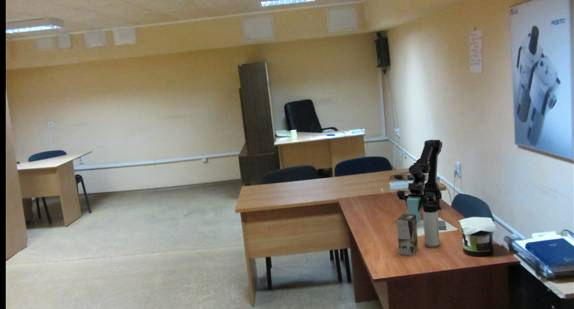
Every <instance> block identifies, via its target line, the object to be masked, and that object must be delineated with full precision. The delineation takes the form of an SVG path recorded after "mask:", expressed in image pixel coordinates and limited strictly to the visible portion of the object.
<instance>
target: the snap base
mask: <svg viewBox="0 0 574 309" xmlns="http://www.w3.org/2000/svg"><path fill="white" fill-rule="evenodd" d="M445 221H446V220H444V221H438V227H439V230H446V224H445Z"/></svg>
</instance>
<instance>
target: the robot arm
mask: <svg viewBox="0 0 574 309" xmlns="http://www.w3.org/2000/svg"><path fill="white" fill-rule="evenodd" d="M423 145H424V146H423V148H422V151H421V154H420V158H418V159H417V160H416V161H415V162H413V164H411V165H410V166H409V167H408V173H409V174H410V176H411V177H412V179H413V180H412V182H407V183H408V185H407V190H408V191H409V193H408V192H407V191H406V190H400V189H399V190H397V191H396V196H397V198H398V200H400V201H404V202H405V205H406V206H407V199H408V198H409V197H420V203H419V207H418V212H419V211H421V210H423V206H422V204H424V203H433V204H435V205H437V209H438V210H442V207H441V205H440V204H441V203H440V200H442V198H443V193H442V191H441V189H440V185H439V183H438V182H437V177H438V176H437V175H438V174H437V173H438V162H439V160H438V159H439V158H438V157H439V155H440V154H441V152H442V148H443V141H441V140H440V139H428V140H425V141H424V143H423ZM425 174H428V175H427V177H426V175H425ZM426 178H427V181H426ZM425 182H426V183H425Z"/></svg>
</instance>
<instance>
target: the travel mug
mask: <svg viewBox="0 0 574 309" xmlns="http://www.w3.org/2000/svg"><path fill="white" fill-rule="evenodd" d="M422 206H423V207H422V212H423V214H422V215H423V220H424V234H425V235H424V245H425V247H427V248H430V249H433V248H435V249H436V248H438V247H439V245H440V233H439V227H438V218H439V213H438V210H439V209H437V205H435V204H433V203H424V204H422Z"/></svg>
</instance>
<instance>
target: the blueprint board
mask: <svg viewBox="0 0 574 309" xmlns="http://www.w3.org/2000/svg"><path fill="white" fill-rule="evenodd" d="M438 221H445V224H446V230H439V234H440V233H446V232H453V231H458V230H459V229H458V228H456V227H455V226H453V225H452V224H450V223H449V222H447V221H446V220H444V219H442V218H441V217H438ZM422 236H423V237H424V236H425V234H424V219H421V220H420V222H419V223H417V237H422Z"/></svg>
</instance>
